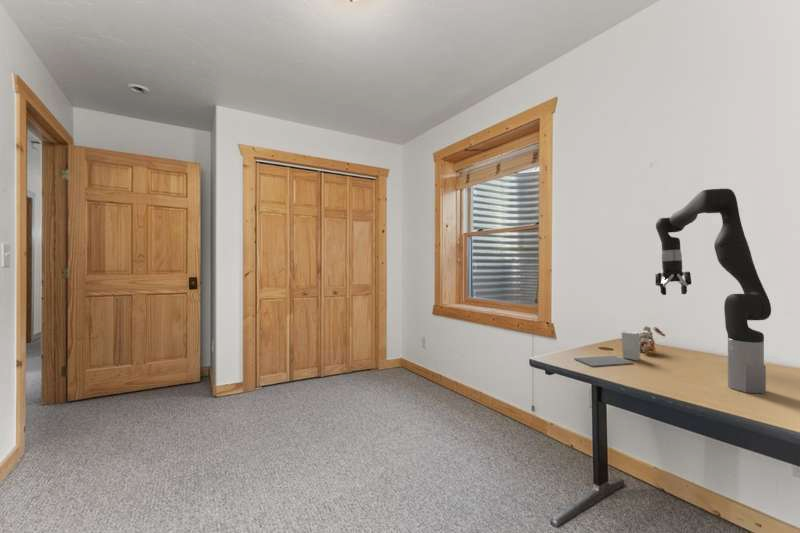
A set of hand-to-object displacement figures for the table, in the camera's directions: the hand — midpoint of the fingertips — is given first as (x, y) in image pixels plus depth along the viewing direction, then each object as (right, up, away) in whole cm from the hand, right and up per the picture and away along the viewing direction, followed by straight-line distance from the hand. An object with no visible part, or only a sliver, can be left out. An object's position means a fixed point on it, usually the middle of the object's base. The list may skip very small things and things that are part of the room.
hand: (674, 294), depth 172 cm
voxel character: (-6, -29, +7) cm, 30 cm away
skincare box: (-22, -29, -3) cm, 37 cm away
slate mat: (-37, -30, -8) cm, 48 cm away
